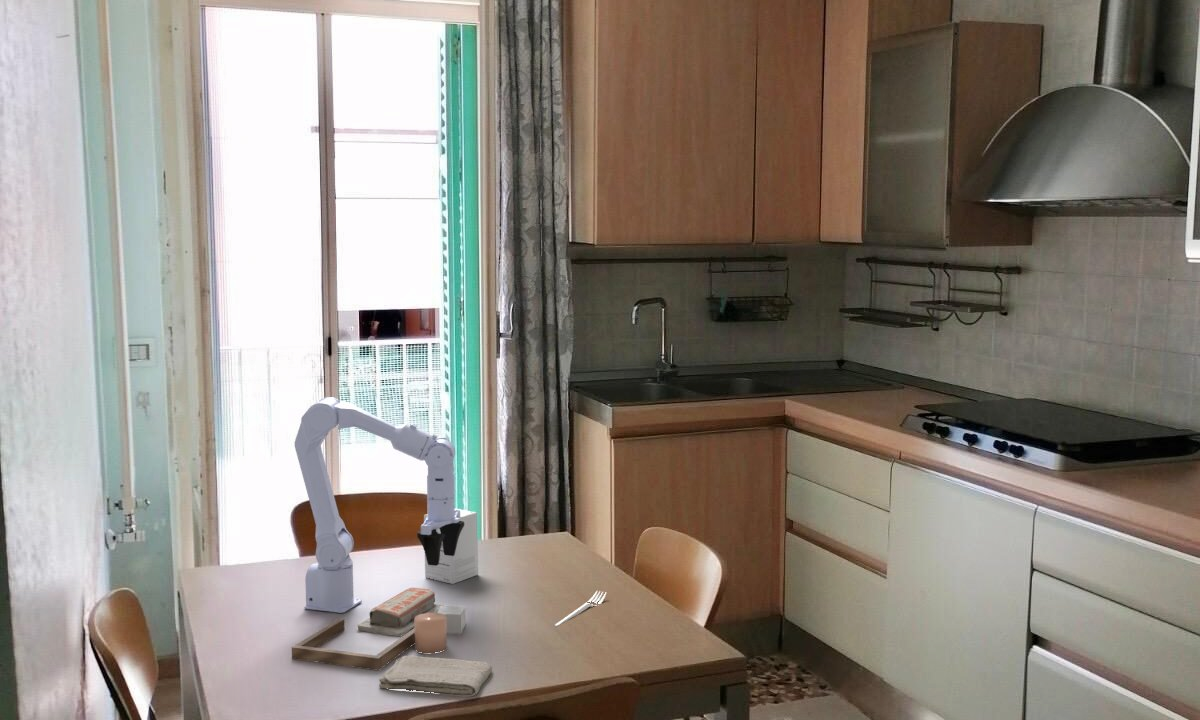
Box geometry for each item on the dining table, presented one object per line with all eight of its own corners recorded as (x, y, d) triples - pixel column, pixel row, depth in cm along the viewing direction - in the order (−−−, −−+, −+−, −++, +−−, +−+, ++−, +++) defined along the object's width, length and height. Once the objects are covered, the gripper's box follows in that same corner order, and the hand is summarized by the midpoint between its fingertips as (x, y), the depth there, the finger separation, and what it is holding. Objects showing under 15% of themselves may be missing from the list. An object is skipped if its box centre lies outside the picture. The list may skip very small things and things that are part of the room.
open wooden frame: (291, 658, 208) (291, 647, 208) (339, 629, 224) (338, 618, 224) (378, 670, 203) (378, 658, 203) (420, 639, 219) (420, 628, 218)
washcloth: (398, 667, 206) (398, 651, 205) (494, 673, 203) (494, 657, 202) (375, 693, 194) (375, 676, 194) (476, 700, 191) (476, 682, 191)
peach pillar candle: (409, 652, 212) (408, 621, 211) (423, 641, 218) (423, 611, 217) (438, 655, 210) (437, 624, 210) (452, 644, 216) (451, 614, 215)
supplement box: (450, 568, 266) (450, 506, 264) (479, 575, 261) (478, 511, 259) (423, 577, 258) (422, 513, 257) (452, 584, 253) (451, 519, 252)
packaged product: (402, 583, 240) (444, 588, 236) (403, 605, 240) (444, 611, 237) (356, 609, 223) (400, 615, 220) (356, 633, 224) (400, 639, 220)
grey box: (436, 633, 222) (435, 614, 222) (441, 625, 227) (440, 605, 227) (461, 634, 222) (461, 614, 222) (465, 625, 227) (465, 606, 227)
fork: (548, 628, 227) (548, 619, 227) (595, 598, 245) (595, 589, 245) (562, 630, 226) (562, 621, 226) (608, 600, 243) (608, 592, 243)
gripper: (442, 506, 228) (443, 571, 230) (472, 491, 242) (473, 552, 243) (411, 503, 231) (412, 567, 232) (443, 488, 244) (443, 549, 246)
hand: (441, 560), depth 238 cm, fingers open, 7 cm apart
